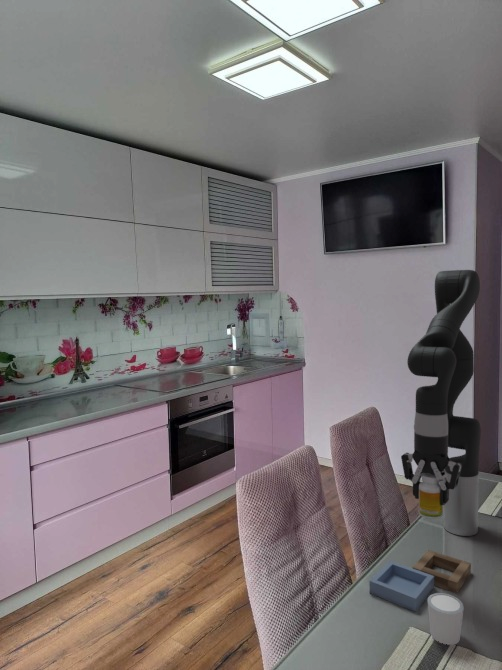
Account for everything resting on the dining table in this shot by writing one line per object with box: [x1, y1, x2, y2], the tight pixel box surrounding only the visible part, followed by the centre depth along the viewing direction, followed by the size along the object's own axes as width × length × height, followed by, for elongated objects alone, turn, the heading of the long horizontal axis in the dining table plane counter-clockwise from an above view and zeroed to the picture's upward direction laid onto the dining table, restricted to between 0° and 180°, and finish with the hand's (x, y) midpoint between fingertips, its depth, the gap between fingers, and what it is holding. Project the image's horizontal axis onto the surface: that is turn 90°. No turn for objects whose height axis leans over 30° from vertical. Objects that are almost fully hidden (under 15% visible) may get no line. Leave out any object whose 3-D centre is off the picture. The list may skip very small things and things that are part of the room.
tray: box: [369, 560, 435, 612], centre depth 116 cm, size 11×11×3 cm
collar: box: [411, 549, 472, 594], centre depth 122 cm, size 10×10×2 cm
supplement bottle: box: [418, 473, 444, 520], centre depth 118 cm, size 5×5×10 cm
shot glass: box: [427, 592, 464, 646], centre depth 101 cm, size 7×7×7 cm
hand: (430, 500), depth 118 cm, fingers closed on supplement bottle, 5 cm apart
